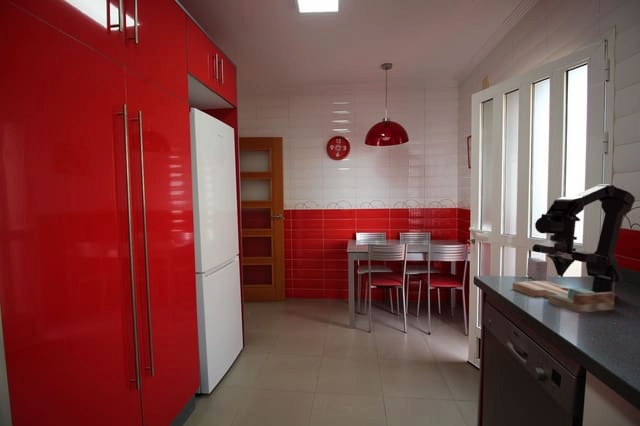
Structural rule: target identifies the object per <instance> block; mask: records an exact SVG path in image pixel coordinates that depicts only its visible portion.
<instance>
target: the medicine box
mask: <svg viewBox="0 0 640 426" xmlns="http://www.w3.org/2000/svg"><path fill="white" fill-rule="evenodd" d="M547 272H548V261H545V260H543V259H541V258H539V257H538V258H537V257H527V268H526V276H527V277H529V278H530V277H532V278H531V279H532V280H533V281H547V276H548V275H547Z"/></svg>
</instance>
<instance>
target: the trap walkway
mask: <svg viewBox="0 0 640 426" xmlns="http://www.w3.org/2000/svg"><path fill="white" fill-rule="evenodd" d="M511 288H512V290H515V291H517V292H521V293H523V294H525V293H526V295H529V296H530V297H534V298H538V297H539V298H540V297H546V298H547V299H548V300H547V302H548V303H549V304H552V305H555V306H557V307H561V308H563V309H566V310H569V311H570V312H571V311H572V312H573V313H579V314H581V313H590V312H591V313H592V312H598V311H609V310H610V311H611V310H614V307H615V299H616V297H615V294H616V293H615V292H614V293H613V292H600V293H588V294H575V295H574V299H573V298H570V297H568V290H569V288H570V287H567V286H564V285H560V284H557V283H553V282H551V281H547V280H546V281H536V280H533V281H530V280H529V281H514V282H512V287H511Z"/></svg>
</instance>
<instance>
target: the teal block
mask: <svg viewBox="0 0 640 426" xmlns="http://www.w3.org/2000/svg"><path fill="white" fill-rule="evenodd" d="M568 288H569V289H568V297H570V298H573V299H574V295H575V294H588V293H596V292H593V291H589V289H585V288H582V287H571V288H570V287H568Z"/></svg>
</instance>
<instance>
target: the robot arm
mask: <svg viewBox="0 0 640 426" xmlns="http://www.w3.org/2000/svg"><path fill="white" fill-rule="evenodd" d="M596 201H599V202H601V204H600V205H601V209H602V210H603V213H604V218H603V223H602V226H601V230H600V234H599V238H598V243H597V247H596V250H595V251H594V252H589V251H584V250H583V251H580V250H579V251H576V250H577V248H575V247H574V242H575V241H577V240H578V237H577V236H575V233H576V232H575V231H576V230H575V229H576V224H577V223H576V222H580V221H581V219H580V217H578V216H577V215H579V214H580V213H581V212H583V211H584V209H585V207H586V206H588V205H590V204H592V203H594V202H596ZM635 201H636V198H635V196H634V195H633V194H632V193H631V192H629V191H627V190H624V189H622V188H618V187H617V186H615V185H613V184H609V183H607V184H606V183H605V184H603V183H602V184H599V183H598V184H597V185H594V186H593V187H591V188H589V189H586V190H584V191H581V192H579V193H577V194H575V195H571V196H563V197H559V198H556V199H554V200H553V203H552V204H551V205H550V207H549V208H548V210H547V212H546V213H542V214H541V217H538V219H536V221H535V223H534V227H535V230H536V231H537V232H538V233H540V234H552V235H550V237H549V239H547V240H545V241H543V242H541V243H535V244H534V245H533V246H532V252H535V253H542V254H546V257H548V258H549V259H550V260H552V262H553V264H554V268H555V270H556V274H557V276H559V277H563V275H564V274H565V273H566V272H567V270H569V267H570V266H571V265H572V264H573V263H574V262H575V261H576V262H581V263H585V269H586V274H587V277H592V279H593V281H592V286H591V289H590V290H589V289H588V290H589V291H593V292H596V293H600V292H613V293H615V292H614V291H615V283H621V282H623V278H624V275H623V273H622V272H621V271H620V269H619V267H618V266H619V260H618V259H617V257H616V255H615V252H616V246H617V243H618V239H619V235H620V230H621V227H622V222H623V217H624V216H626V215H627V214H628V213H629V212H631V210H632V209H633V206H634V204H635ZM616 297H619V294H616V293H615V298H616Z"/></svg>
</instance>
